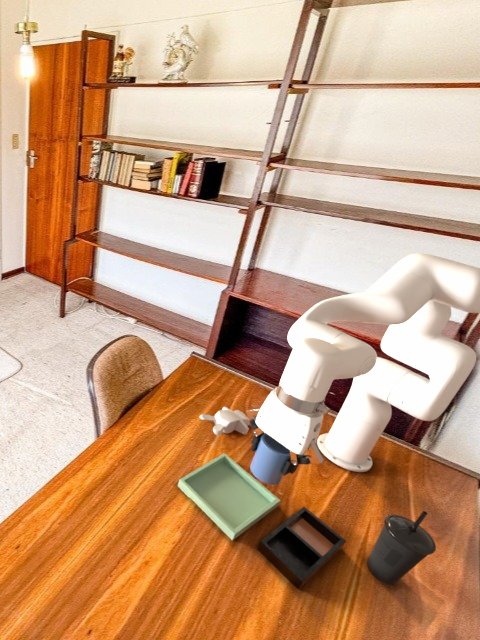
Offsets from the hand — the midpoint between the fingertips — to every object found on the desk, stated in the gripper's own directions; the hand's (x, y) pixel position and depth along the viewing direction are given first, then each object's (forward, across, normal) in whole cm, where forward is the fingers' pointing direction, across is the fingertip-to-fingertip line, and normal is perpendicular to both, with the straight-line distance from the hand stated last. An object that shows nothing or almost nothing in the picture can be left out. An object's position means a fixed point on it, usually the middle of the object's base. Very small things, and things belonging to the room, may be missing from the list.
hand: (271, 459), depth 86 cm
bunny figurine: (+20, +20, -20) cm, 35 cm away
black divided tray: (+20, -10, -3) cm, 22 cm away
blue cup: (+4, 0, 0) cm, 4 cm away
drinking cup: (+20, -22, -14) cm, 32 cm away
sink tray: (+20, +6, 0) cm, 20 cm away
